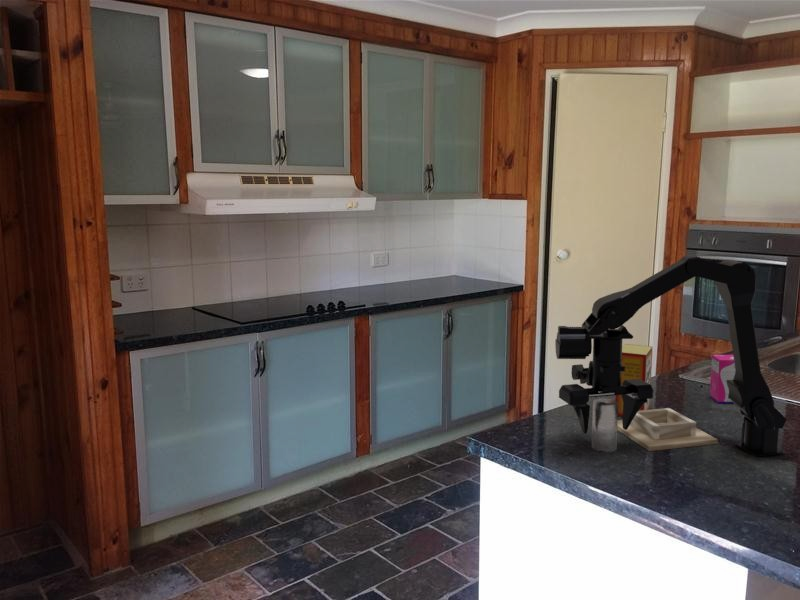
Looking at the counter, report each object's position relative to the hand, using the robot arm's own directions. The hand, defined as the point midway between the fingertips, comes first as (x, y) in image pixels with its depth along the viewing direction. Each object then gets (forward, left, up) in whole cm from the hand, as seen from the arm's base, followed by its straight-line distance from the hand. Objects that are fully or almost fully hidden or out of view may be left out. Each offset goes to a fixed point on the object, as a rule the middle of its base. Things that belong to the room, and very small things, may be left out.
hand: (604, 431), depth 139 cm
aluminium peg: (0, 0, -4) cm, 4 cm away
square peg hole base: (+4, -16, -4) cm, 17 cm away
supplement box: (+21, -45, -4) cm, 50 cm away
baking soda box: (+19, -18, -4) cm, 27 cm away
